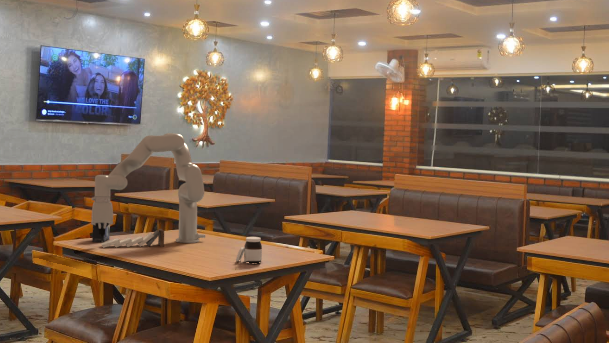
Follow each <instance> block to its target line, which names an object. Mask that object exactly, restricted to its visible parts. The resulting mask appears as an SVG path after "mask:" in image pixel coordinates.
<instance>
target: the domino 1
mask: <svg viewBox="0 0 609 343" xmlns="http://www.w3.org/2000/svg"><path fill="white" fill-rule="evenodd" d="M120 241H121V240H120V239H119V238H115V239H109V240H107V241H105V242H100V245H101V247H103V248H102V249H104V248H108V247H110V246H114V244H118V243H120Z"/></svg>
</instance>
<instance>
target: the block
mask: <svg viewBox="0 0 609 343" xmlns="http://www.w3.org/2000/svg"><path fill="white" fill-rule="evenodd" d="M157 231H159V232H160V235H159V236H158V237H157V240H158V241H157V243H158V244H157V245H158V246H159V247H160V248H164V247H165V230H163V229H162V228H158V229H157Z"/></svg>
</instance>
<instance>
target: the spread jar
mask: <svg viewBox="0 0 609 343" xmlns="http://www.w3.org/2000/svg"><path fill="white" fill-rule="evenodd" d="M261 240H262V239H261V237H258V236H247V237H246V238H245V243H244V247H242V246H241V247H240V249H239V250H238V253H237V256H236V258H235V261H236V262H238V261H239V260H240V261H241V260H242V258H243V261H244V263H245V262H249V263H259V262H261V263H262V260H263V258H262V256H263V246H262V243H261ZM240 261H239V262H240Z"/></svg>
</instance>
